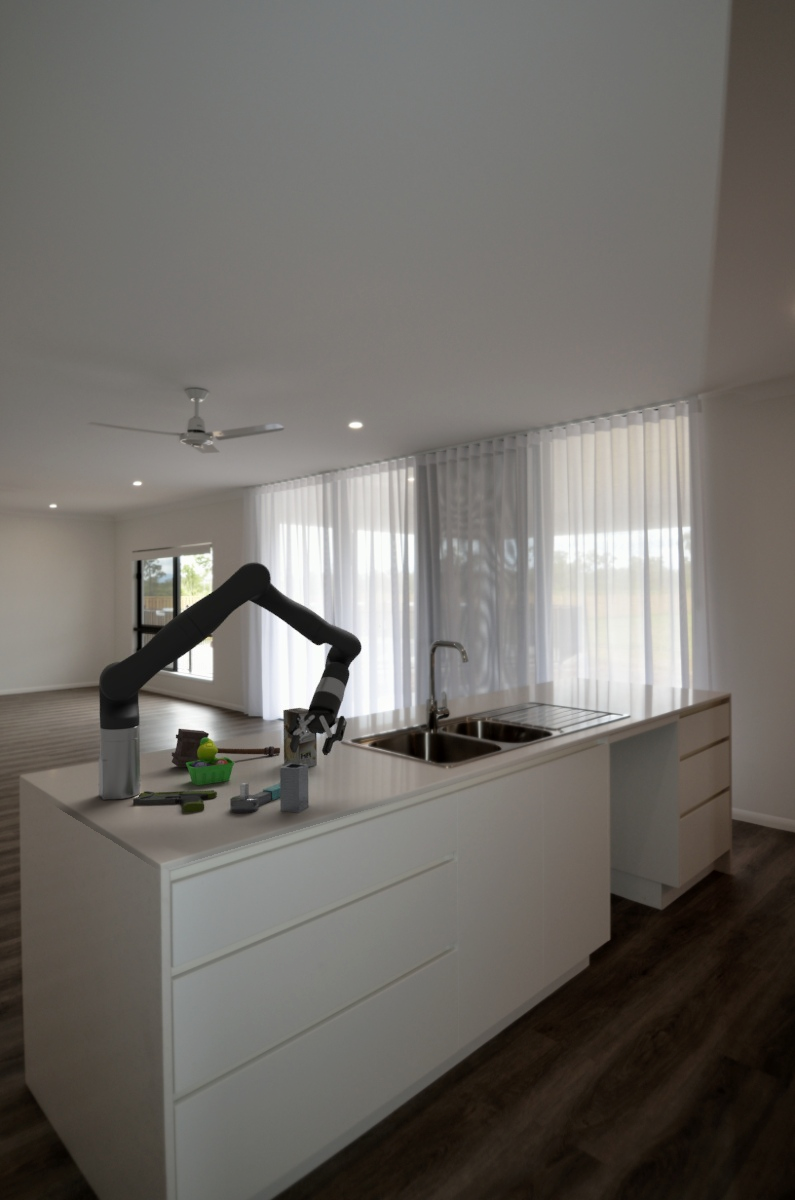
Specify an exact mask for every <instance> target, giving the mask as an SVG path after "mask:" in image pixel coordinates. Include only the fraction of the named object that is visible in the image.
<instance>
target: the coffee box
mask: <svg viewBox="0 0 795 1200" xmlns="http://www.w3.org/2000/svg"><path fill="white" fill-rule="evenodd" d="M308 710H309V708H308V709H307V708H303V707H296V708H289V709H283V712H282V713H283V716H282V717H283V718H282V719H283V720H282V721H283V764H284V765H287V764H289V763H298V764H308V768H309V767H314V766H318V755H317V754H318V750H317V749H318V747H317V745H318V744H317V743H318V742H317V738H318V737H317V733H310V734H309V735H307V736H304V737H303V738H302V739H300V743H299V746H298V748H297V751H296V753H293V752H292V751H291V749H290V743H291V740H292V738H291V737H290V735H289V733H288V728H289V726H290V724H291V722H292V720H293V718H294V715H295V714H296V713H298V714H299V715H300V716H305V715H306V714H307V713H308ZM304 722H305V721H304ZM304 722H302V723H304ZM299 727H300V726H299ZM307 729H308V728H307V727H306V728H305V730H307Z"/></svg>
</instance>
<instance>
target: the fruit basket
mask: <svg viewBox="0 0 795 1200" xmlns="http://www.w3.org/2000/svg"><path fill="white" fill-rule="evenodd" d="M217 748H218V746H217V745H216V744H215V743H214V740H212V738H209V737H208V738H202V739H201V741H200V746H199V748H198V751H197V755H198V757H199V759H200V760H197V761H193V762H188V763H186V765H187V767H186V768H187V770H188V773H189V778H190V779H191V782H192V783H193V784H194V785H196V786H203V785H209V784H215V783H221V782H227V781H230V779H231V775H232V771H233V766H234V764H235V761H233V760H232V759H231V758H229V757H227V756H226V757H225V756H224V757H223V756H222V757H216V755H217V754H218V753H217V752H218V749H217Z"/></svg>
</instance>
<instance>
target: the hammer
mask: <svg viewBox="0 0 795 1200" xmlns="http://www.w3.org/2000/svg"><path fill="white" fill-rule="evenodd" d="M209 734H210V733H208V732H206V731H205V730H199V729H188V728H178V731H177V734H175V739H177V740H176V741H177V742H176V746H175V750H174V752H171V757H172V759H171V763H172V764H173V765H175V766H176V767H181V768H188V767H187V765H186V763H188V762H193V761H197V760H200V759H199V757H198V755H197V751H198V748H199V746H200V741H201V739H202V738H209ZM217 749H218V752H217V754H227V755H228V754H230V755H264V756H270V757H271V756H272V757H273V756H274V755H279V754H280V753H281V747H275V746H271V745H270V746H269V747H266V746H265V747H264V748H221V747H219V748H218V747H217Z"/></svg>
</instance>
